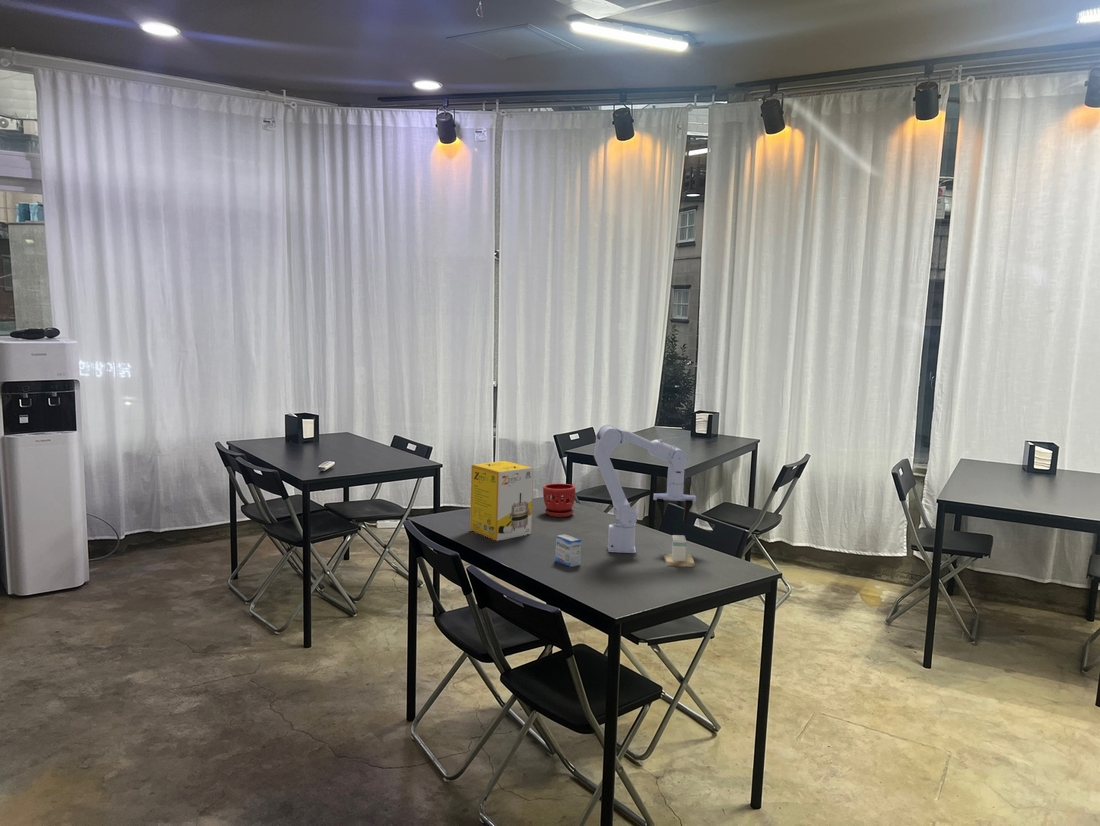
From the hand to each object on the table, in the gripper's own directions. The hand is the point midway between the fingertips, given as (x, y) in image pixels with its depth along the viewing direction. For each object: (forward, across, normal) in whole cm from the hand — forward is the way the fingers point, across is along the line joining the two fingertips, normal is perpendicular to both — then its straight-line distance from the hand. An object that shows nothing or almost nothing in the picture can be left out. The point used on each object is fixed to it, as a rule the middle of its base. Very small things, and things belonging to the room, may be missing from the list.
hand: (673, 520), depth 278 cm
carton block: (+9, +1, -14) cm, 17 cm away
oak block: (+11, +1, -14) cm, 18 cm away
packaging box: (+11, -62, +11) cm, 64 cm away
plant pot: (+11, -42, +42) cm, 61 cm away
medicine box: (+11, -36, -22) cm, 43 cm away
